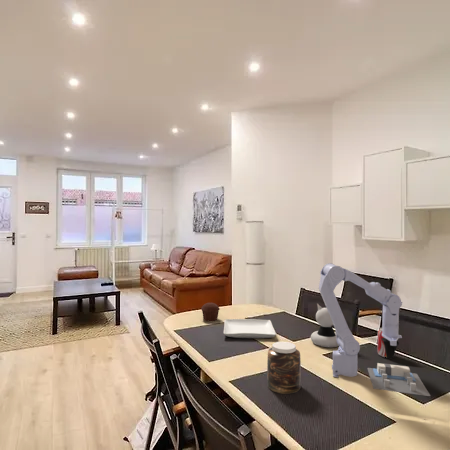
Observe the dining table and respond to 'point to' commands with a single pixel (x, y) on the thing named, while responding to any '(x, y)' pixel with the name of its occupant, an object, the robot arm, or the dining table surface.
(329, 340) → the decorative figurine
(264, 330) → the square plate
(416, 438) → the dining table surface
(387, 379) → the pegged base plate
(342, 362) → the robot arm
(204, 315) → the muffin
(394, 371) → the cream banded bar
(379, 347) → the soda can
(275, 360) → the jar
